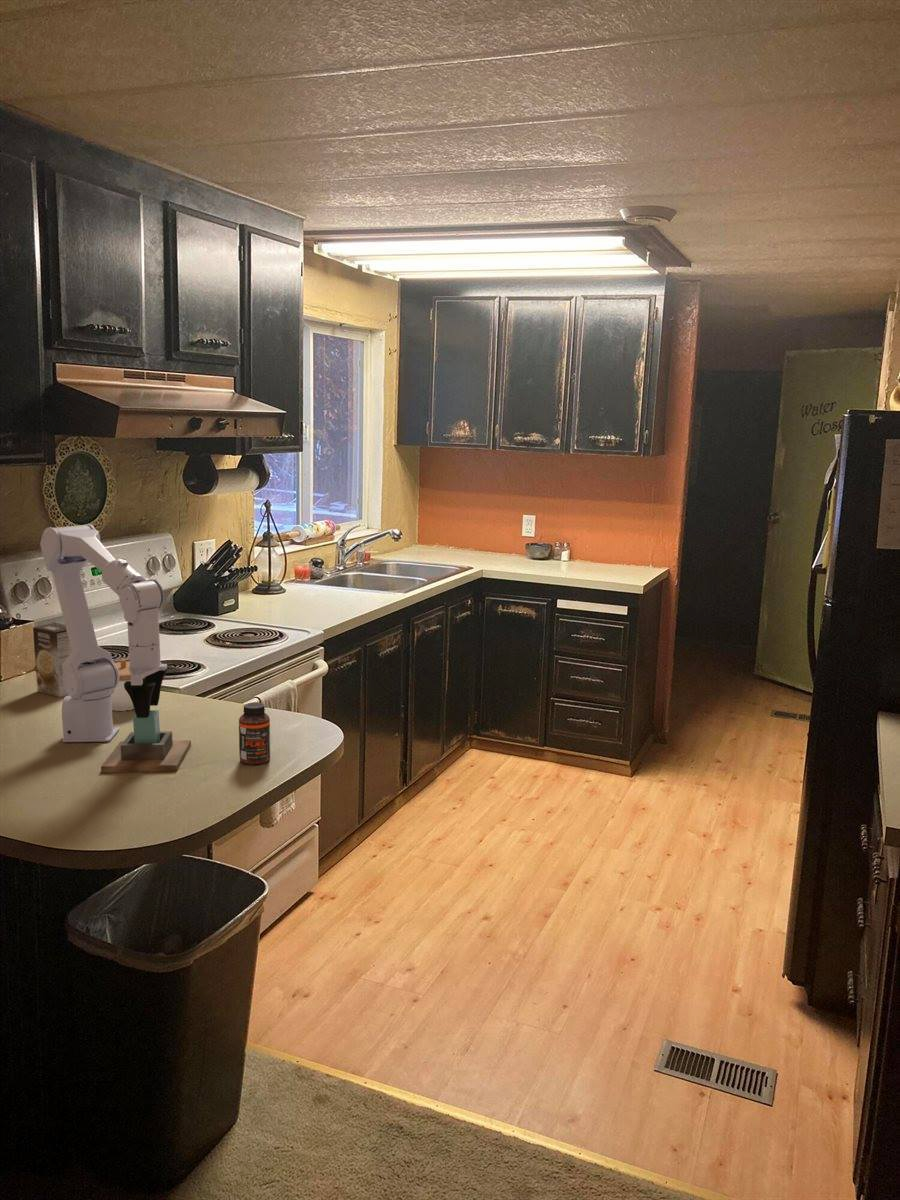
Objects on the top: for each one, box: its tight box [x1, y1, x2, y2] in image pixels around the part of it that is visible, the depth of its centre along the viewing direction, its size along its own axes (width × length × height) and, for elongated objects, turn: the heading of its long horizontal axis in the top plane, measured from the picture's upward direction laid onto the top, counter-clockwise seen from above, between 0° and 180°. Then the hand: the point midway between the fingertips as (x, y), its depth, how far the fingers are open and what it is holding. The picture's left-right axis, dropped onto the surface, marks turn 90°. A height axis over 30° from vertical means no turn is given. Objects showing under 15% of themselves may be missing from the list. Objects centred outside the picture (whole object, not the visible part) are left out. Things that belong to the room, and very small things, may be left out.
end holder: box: [100, 730, 192, 773], centre depth 188 cm, size 14×14×4 cm
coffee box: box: [32, 622, 80, 698], centre depth 231 cm, size 9×6×16 cm
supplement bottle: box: [238, 701, 271, 766], centre depth 187 cm, size 6×6×11 cm
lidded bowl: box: [111, 658, 134, 712], centre depth 220 cm, size 13×13×11 cm
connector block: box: [132, 709, 161, 744], centre depth 187 cm, size 4×4×8 cm
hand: (147, 711), depth 187 cm, fingers open, 7 cm apart
